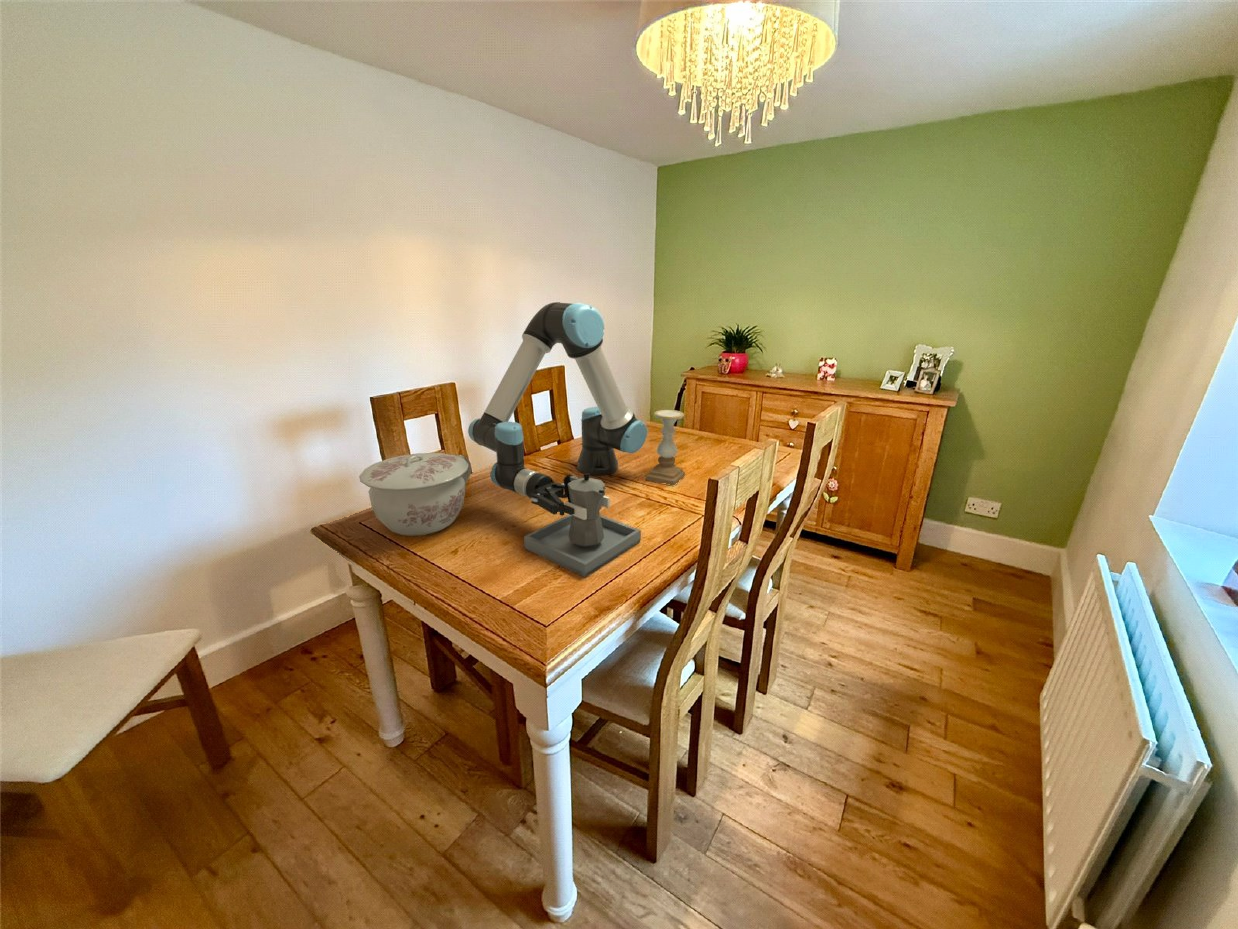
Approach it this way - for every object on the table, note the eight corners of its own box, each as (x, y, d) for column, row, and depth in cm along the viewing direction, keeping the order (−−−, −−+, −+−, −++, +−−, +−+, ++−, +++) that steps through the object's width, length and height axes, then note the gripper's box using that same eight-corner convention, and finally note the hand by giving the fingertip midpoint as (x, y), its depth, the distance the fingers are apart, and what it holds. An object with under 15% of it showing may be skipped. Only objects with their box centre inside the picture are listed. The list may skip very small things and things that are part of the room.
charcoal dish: (582, 519, 142) (582, 508, 140) (640, 541, 130) (640, 530, 128) (524, 548, 125) (524, 536, 124) (585, 577, 113) (585, 564, 112)
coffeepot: (616, 541, 125) (618, 476, 118) (589, 553, 118) (589, 485, 112) (578, 521, 135) (578, 460, 129) (551, 531, 129) (549, 467, 123)
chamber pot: (361, 555, 121) (346, 478, 114) (377, 509, 145) (366, 443, 138) (477, 540, 129) (470, 467, 122) (474, 499, 153) (468, 436, 146)
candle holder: (645, 480, 171) (647, 414, 162) (657, 470, 180) (660, 407, 172) (674, 486, 166) (678, 418, 158) (685, 476, 175) (690, 411, 167)
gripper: (561, 486, 143) (622, 508, 130) (505, 510, 127) (568, 537, 114) (561, 463, 140) (623, 482, 127) (503, 484, 125) (567, 508, 111)
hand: (597, 508), depth 121 cm, fingers closed on coffeepot, 8 cm apart
